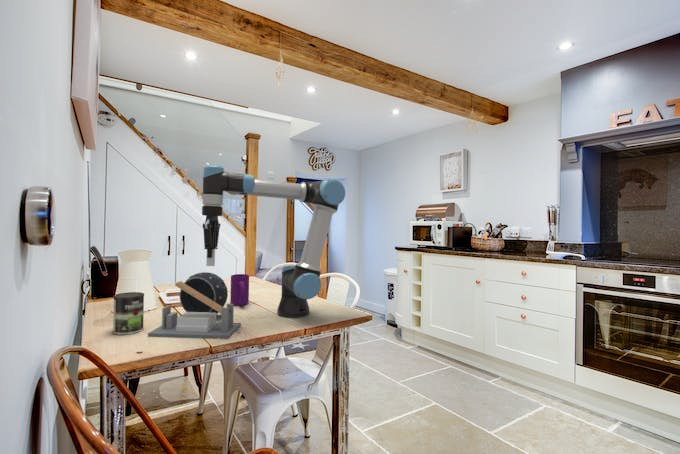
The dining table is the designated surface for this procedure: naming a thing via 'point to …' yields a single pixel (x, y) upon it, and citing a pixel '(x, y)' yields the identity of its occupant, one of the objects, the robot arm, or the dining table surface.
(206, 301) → the strap
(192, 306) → the black short cylinder
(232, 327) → the grey fixture stand
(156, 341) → the dining table surface
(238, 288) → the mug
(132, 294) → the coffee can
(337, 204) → the robot arm
